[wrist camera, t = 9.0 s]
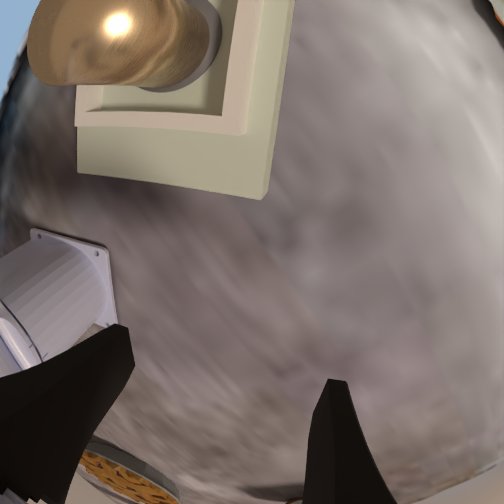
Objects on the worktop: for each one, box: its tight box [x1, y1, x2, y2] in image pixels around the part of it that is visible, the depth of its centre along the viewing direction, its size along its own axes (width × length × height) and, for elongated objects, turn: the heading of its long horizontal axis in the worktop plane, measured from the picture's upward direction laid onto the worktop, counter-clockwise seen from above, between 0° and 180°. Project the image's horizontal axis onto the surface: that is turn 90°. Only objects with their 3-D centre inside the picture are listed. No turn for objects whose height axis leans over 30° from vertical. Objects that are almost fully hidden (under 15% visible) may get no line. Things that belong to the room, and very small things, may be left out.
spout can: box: [27, 0, 210, 88], centre depth 9 cm, size 5×6×7 cm
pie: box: [79, 442, 182, 504], centre depth 42 cm, size 22×22×5 cm
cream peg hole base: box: [75, 0, 295, 200], centre depth 13 cm, size 15×16×4 cm
